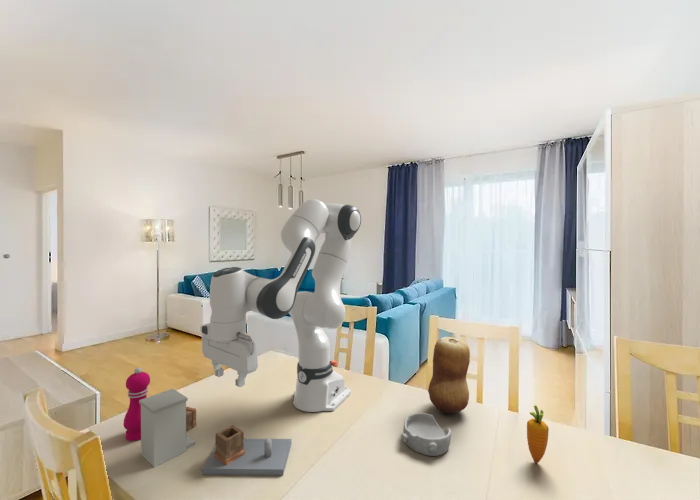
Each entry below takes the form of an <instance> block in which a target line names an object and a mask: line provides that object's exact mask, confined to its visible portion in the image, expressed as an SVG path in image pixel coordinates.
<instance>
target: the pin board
mask: <svg viewBox="0 0 700 500" xmlns="http://www.w3.org/2000/svg"><path fill="white" fill-rule="evenodd" d="M291 447H292V439H291V438H244V449H245V454H244V455H242V456H241V457H239V458H238V459H236V460H234V461H233V462H231V463H229V464H228V465H224V464H223V463H222V462H221V461H219V460H218V459H217V458H215V457H214V452H215V448H213V450H212V452H211V453H210V455H209V456H208V458H207V460H206V461H205V463H204V464H203V466H202V469H201V475H204V476H205V475H214V476H215V475H217V476H218V475H222V476H223V475H224V476H228V475H229V476H284V474H285V470H286V466H287V462H288V458H289V455H290V450H291Z"/></svg>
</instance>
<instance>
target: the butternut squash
mask: <svg viewBox="0 0 700 500" xmlns="http://www.w3.org/2000/svg"><path fill="white" fill-rule="evenodd" d="M470 357H471V352H470V347H469V345H468V343H467V342H465V341H463V340H461V339H458V338H456V337H451V336H443V337H440V338H439V339H438V340H437V341H436V343H435V345H434V348H433V356H432V375H431V379H430V381H429V384H428V390H427V392H428V396H429V400H430V403H431V404H432V405H433V406H434V407H435V408H436V409H437V411H438V412H440V413H442V414H453V413H459V412H462V411H464V410H465V408H467V406H468V404H469V401H470V391H469V385H468V382H467V373H468V370H469V366H470V363H471V362H470V361H471V360H470Z"/></svg>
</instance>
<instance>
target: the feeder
mask: <svg viewBox="0 0 700 500" xmlns="http://www.w3.org/2000/svg"><path fill="white" fill-rule="evenodd" d="M146 397H147V398H144V399H141V400H139V403H140V404H141V439H140V455H141V456H143V458H144V459H145V460H146V461H147V462H148V463H149V464H150V466H152V467H153V468H156V467H158V466H160V465H161V464H163V463H166V462H168V461H170V460H172V459H174V458H175V457H177V456H180V455H181V454H183V453H185V452H186V451H187V449H188V448H190V447H192V446H194V445H195V444H196V441H195V440H194V439H193V438H192V437H190V436H189V435H187V432H186V407H187V402H188V401H189V400H188V399H189V398H188V397H187V396H185V395H184V394H182V393H181V392H179V391H177V390H176V389H174V388H170V389H168V390H164V391H162V392H159V393H156V394H153V395H150V396H146Z"/></svg>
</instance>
